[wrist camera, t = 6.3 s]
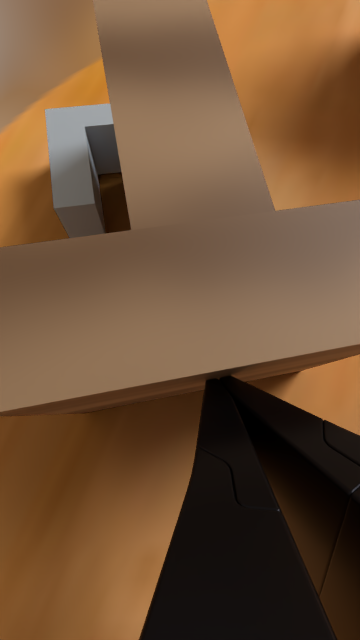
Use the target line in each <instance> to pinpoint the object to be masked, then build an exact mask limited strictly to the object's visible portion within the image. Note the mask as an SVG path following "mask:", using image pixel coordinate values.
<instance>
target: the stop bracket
mask: <svg viewBox="0 0 360 640" xmlns="http://www.w3.org/2000/svg"><path fill="white" fill-rule="evenodd" d="M45 115H46V126H47V137H48V149H49V160H50V172H51V183H52V194H53V206H54V210H55V212H56V214H57V215H58V217H59V219H60V221H61V223H62V225H63V227H64V228H65V230H66V232H67V234H68V236H69V238H75V237H83V236H91V235H98V234H106V230H105V223H104V216H103V209H102V202H101V194H100V187H99V180H98V175H101V174H110V173H118V172H121V166H120V160H119V154H118V148H117V142H116V136H115V130H114V124H113V118H112V112H111V106H110V104H100V105H88V106H77V107H65V108H54V109H45Z"/></svg>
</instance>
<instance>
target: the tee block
mask: <svg viewBox="0 0 360 640" xmlns="http://www.w3.org/2000/svg"><path fill="white" fill-rule="evenodd" d="M93 4H94V10H95V16H96V21H97V28H98V34H99V40H100V45H101V52H102V58H103V64H104V70H105V76H106V82H107V88H108V94H109V100H110V106H111V112H112V118H113V124H114V130H115V136H116V142H117V148H118V154H119V160H120V166H121V172H122V178H123V184H124V190H125V196H126V202H127V208H128V213H129V219H130V225H131V230H128V231H121V232H113V233H106V234H98V235H91V236H83V237H75V238H68V239H60V240H53V241H45V242H38V243H30V244H23V245H15V246H8V247H0V416H24V415H51V414H77V413H87V412H92V411H97V410H103V409H108V408H113V407H118V406H123V405H128V404H133V403H138V402H144V401H149V400H154V399H159V398H164V397H169V396H174V395H179V394H185V393H190V392H195V391H200V390H204V388H205V381H206V380H209V379H214V378H217V379H219V378H220V377H225V376H233V377H235V378H237V379H239V380H241V381H243V382H246V381H251V380H256V379H261V378H267V377H272V376H277V375H282V374H287V373H292V372H297V371H302V370H306V369H309V368H313V367H316V366H320V365H323V364H327V363H330V362H334V361H337V360H341V359H344V358H348V357H351V356H355V355H358V354H360V200H354V201H347V202H339V203H332V204H324V205H317V206H309V207H302V208H294V209H287V210H279V211H275V209H274V206H273V202H272V199H271V196H270V193H269V190H268V187H267V184H266V181H265V178H264V175H263V172H262V169H261V166H260V163H259V159H258V156H257V153H256V150H255V147H254V144H253V141H252V138H251V135H250V132H249V129H248V126H247V123H246V120H245V116H244V113H243V110H242V107H241V104H240V101H239V98H238V95H237V92H236V89H235V86H234V83H233V80H232V77H231V74H230V70H229V67H228V64H227V61H226V58H225V55H224V52H223V49H222V46H221V43H220V40H219V37H218V34H217V31H216V27H215V24H214V21H213V18H212V15H211V12H210V9H209V6H208V3H207V0H93Z"/></svg>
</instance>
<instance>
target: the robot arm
mask: <svg viewBox="0 0 360 640" xmlns="http://www.w3.org/2000/svg"><path fill="white" fill-rule="evenodd" d="M139 640H360V436H359V435H357V434H355V433H352V432H350V431H348V430H346V429H344V428H341V427H339V426H337V425H335V424H333V423H331V422H329V421H326V420H324V421H323V419H321V418H319V417H317V416H315V415H313V414H311V413H309V412H306V411H304V410H302V409H300V408H298V407H296V406H294V405H292V404H290V403H288V402H285V401H283V400H281V399H279V398H277V397H275V396H273V395H271V394H269V393H266V392H264V391H262V390H260V389H258V388H256V387H254V386H252V385H250V384H248V383H245V382H243V381H241V380H239V379H237V378H235V377H233V376H225V377H220V378H219V379H217V378H214V379H209V380H206V381H205V388H204V395H203V402H202V409H201V416H200V424H199V431H198V438H197V445H196V450H195V457H194V463H193V468H192V474H191V477H190V481H189V485H188V488H187V492H186V495H185V498H184V501H183V504H182V508H181V511H180V514H179V517H178V520H177V523H176V526H175V529H174V532H173V536H172V539H171V542H170V545H169V548H168V551H167V554H166V557H165V560H164V564H163V567H162V570H161V573H160V576H159V579H158V582H157V585H156V588H155V592H154V595H153V598H152V601H151V604H150V607H149V610H148V613H147V616H146V620H145V623H144V626H143V629H142V632H141V635H140V638H139Z"/></svg>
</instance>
